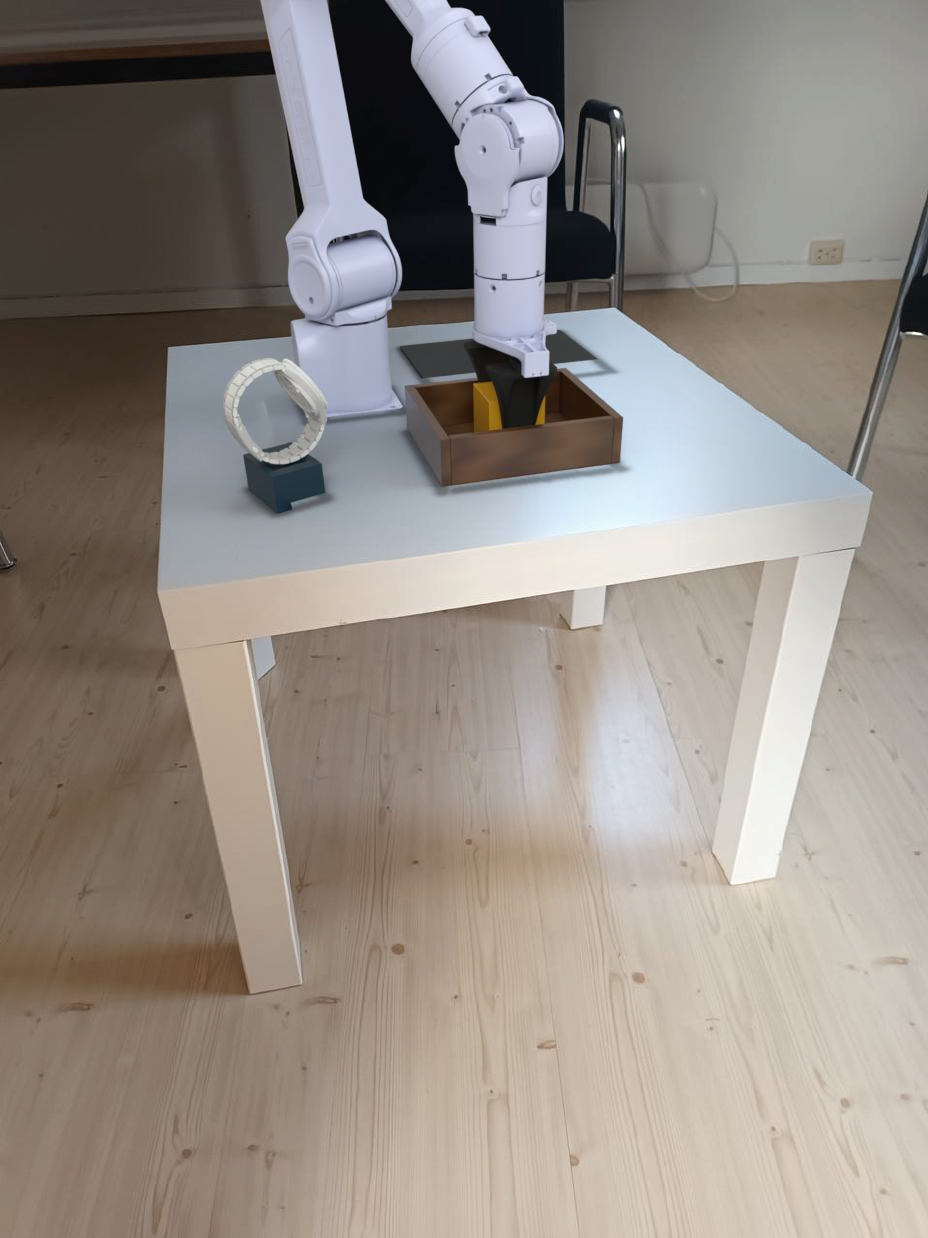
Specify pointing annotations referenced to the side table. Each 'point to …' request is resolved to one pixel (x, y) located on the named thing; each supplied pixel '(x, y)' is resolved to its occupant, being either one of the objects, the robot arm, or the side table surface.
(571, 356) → the mat
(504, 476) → the box
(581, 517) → the side table surface
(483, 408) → the cube
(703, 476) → the side table surface
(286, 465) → the watch
